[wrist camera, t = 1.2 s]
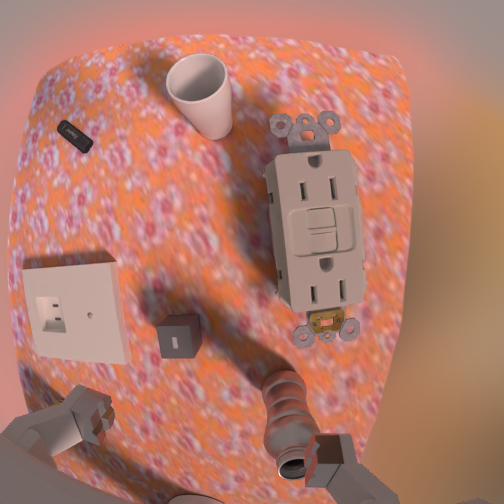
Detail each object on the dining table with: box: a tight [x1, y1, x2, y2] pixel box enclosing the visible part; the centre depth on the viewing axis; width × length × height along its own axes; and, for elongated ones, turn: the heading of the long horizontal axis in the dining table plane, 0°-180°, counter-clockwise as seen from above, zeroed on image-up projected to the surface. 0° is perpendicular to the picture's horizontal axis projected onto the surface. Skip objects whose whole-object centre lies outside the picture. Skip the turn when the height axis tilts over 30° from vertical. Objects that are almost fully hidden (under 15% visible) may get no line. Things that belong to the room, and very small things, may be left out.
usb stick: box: [57, 121, 93, 153], centre depth 42 cm, size 10×3×2 cm, turn 53°
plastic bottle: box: [262, 370, 320, 480], centre depth 33 cm, size 6×7×20 cm
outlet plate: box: [22, 261, 132, 364], centre depth 43 cm, size 16×20×2 cm
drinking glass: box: [166, 53, 233, 140], centre depth 34 cm, size 7×7×15 cm
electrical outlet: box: [262, 111, 369, 348], centre depth 38 cm, size 12×28×10 cm, turn 7°
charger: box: [156, 314, 202, 358], centre depth 40 cm, size 5×5×6 cm
